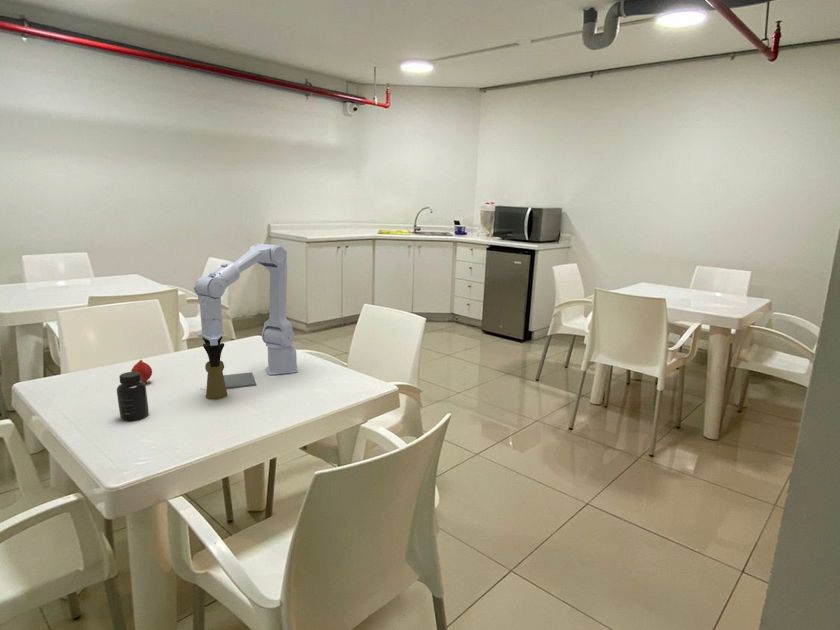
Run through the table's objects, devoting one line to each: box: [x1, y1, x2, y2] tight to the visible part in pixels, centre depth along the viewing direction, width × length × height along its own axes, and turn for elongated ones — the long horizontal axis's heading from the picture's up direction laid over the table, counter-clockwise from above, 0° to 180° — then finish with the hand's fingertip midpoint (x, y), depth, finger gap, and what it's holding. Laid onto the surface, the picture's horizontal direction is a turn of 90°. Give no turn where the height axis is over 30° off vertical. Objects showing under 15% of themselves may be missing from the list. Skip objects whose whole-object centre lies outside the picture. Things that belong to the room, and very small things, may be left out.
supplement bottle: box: [116, 371, 150, 422], centre depth 136 cm, size 7×7×12 cm
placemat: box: [223, 371, 257, 390], centre depth 165 cm, size 12×12×1 cm
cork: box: [204, 360, 228, 401], centre depth 151 cm, size 6×6×11 cm
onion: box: [130, 359, 153, 384], centre depth 160 cm, size 6×6×8 cm
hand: (214, 362), depth 150 cm, fingers open, 7 cm apart
